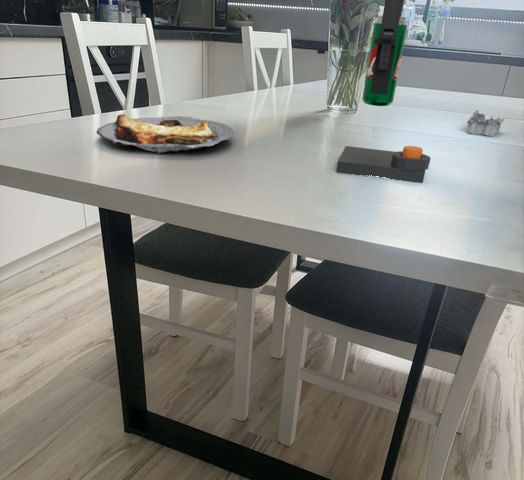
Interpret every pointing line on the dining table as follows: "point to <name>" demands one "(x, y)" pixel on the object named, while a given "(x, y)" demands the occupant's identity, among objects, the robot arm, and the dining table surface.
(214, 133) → the food plate
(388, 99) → the soda can
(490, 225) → the dining table surface
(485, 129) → the egg carton
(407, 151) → the tare button
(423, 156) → the dark grey flat block
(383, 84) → the robot arm
